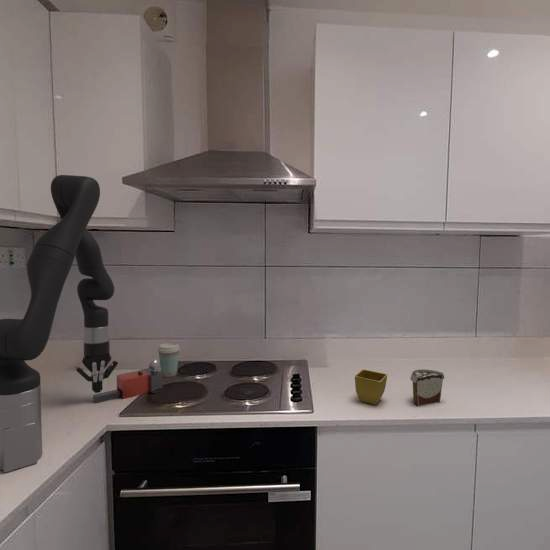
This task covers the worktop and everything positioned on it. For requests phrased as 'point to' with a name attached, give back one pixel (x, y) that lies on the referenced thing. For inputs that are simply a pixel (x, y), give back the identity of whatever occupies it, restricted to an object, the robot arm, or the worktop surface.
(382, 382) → the flower pot
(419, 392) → the food container
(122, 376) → the red box with knob
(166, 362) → the coffee cup
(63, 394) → the worktop surface
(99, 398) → the grey bar with block
